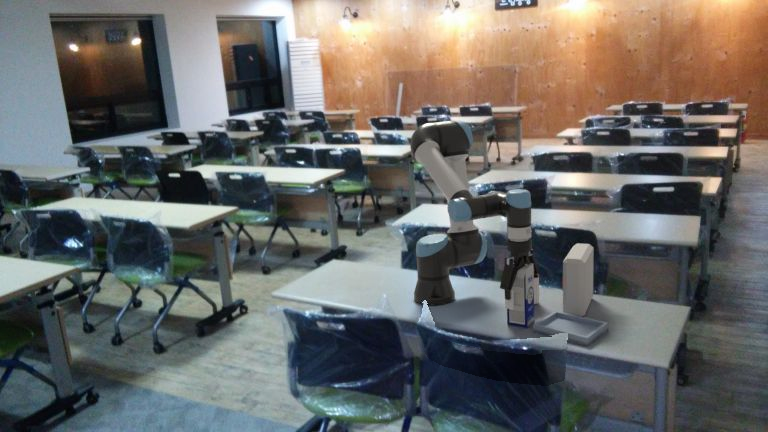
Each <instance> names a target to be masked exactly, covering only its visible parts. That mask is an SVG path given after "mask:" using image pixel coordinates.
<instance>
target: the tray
mask: <svg viewBox="0 0 768 432" xmlns="http://www.w3.org/2000/svg"><path fill="white" fill-rule="evenodd" d="M532 325H533V327H532V328H533V329H532V331H533V333H537V334H540V335H544V336H547V335H555V334H559V333H568V340H569V341H568V342H570V341H573V342H572V343H574V342H575V344H578V345H582V346H586V347H588V346H589V345H591V344H592V343H594V341H596V340H598V338H600V337H602V335H604V334H605V333H607V332H608V331H609V322H607V321H602V320H598V319H593V318H588V317H584V316H582V317H580V316H576V315H572V314H567V313H563V311H558V310H554V311H553V312H551V313H549V314H548V315H546V316H544V317H543V318H541V319H540V320H539V321H537V322H535V323H532Z"/></svg>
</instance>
